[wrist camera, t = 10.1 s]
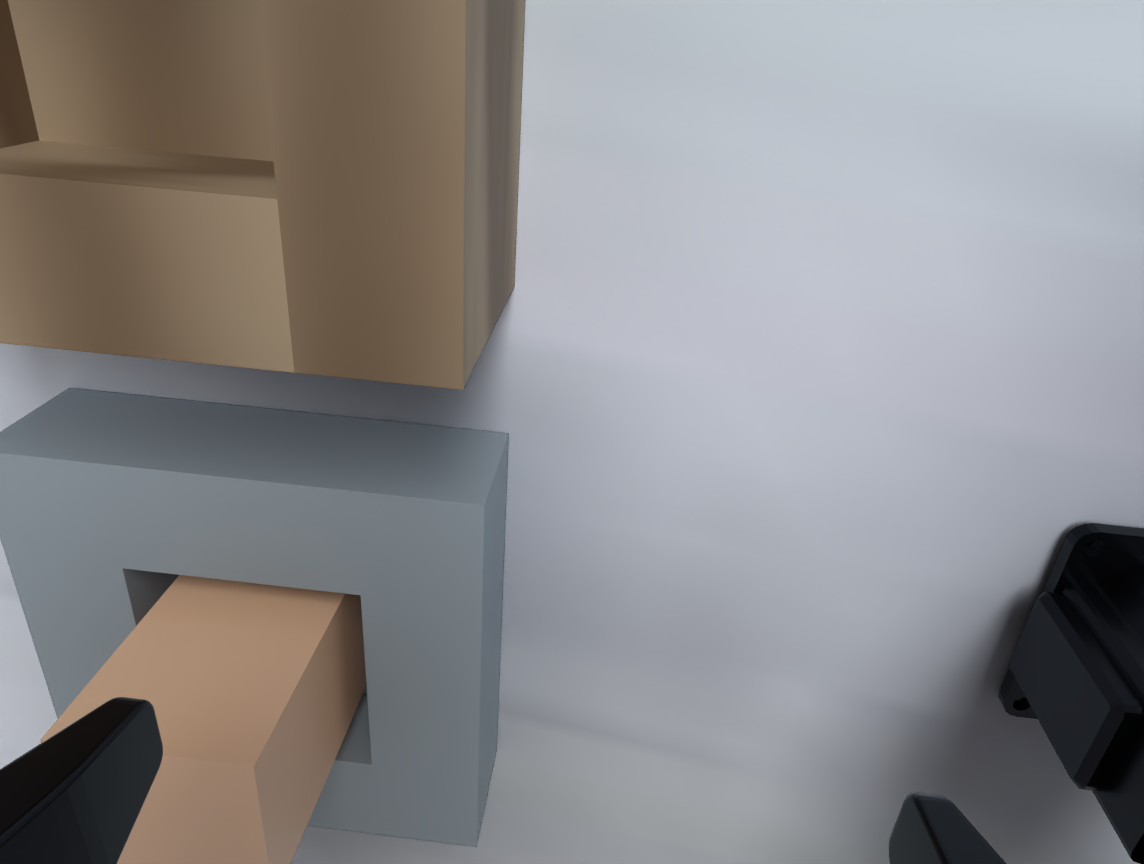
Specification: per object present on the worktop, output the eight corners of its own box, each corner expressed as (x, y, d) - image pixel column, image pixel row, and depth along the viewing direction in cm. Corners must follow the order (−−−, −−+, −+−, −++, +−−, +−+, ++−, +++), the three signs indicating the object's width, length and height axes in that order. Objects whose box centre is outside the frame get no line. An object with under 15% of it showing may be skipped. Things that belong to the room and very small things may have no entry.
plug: (364, 557, 22) (253, 767, 16) (370, 675, 24) (274, 901, 18) (209, 539, 22) (40, 739, 16) (228, 657, 24) (85, 875, 18)
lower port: (508, 433, 21) (484, 505, 18) (496, 750, 27) (476, 847, 24) (68, 387, 22) (-29, 450, 19) (147, 708, 27) (82, 797, 24)
